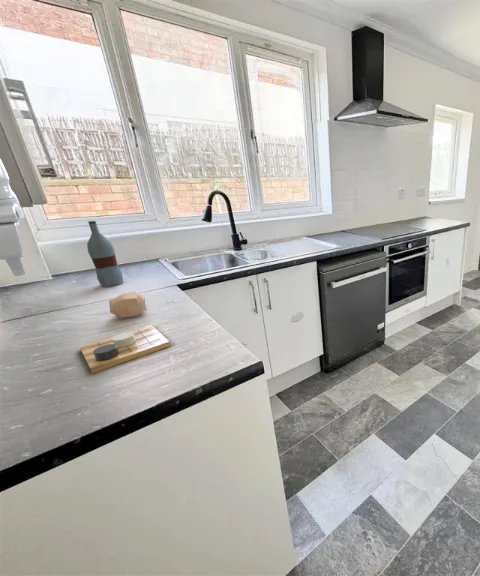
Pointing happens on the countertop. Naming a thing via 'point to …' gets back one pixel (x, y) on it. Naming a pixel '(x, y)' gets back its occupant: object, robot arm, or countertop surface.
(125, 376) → the countertop surface
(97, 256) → the bottle
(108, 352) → the black stone
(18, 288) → the countertop surface
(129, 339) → the cream stone
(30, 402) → the countertop surface
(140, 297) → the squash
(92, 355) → the board
